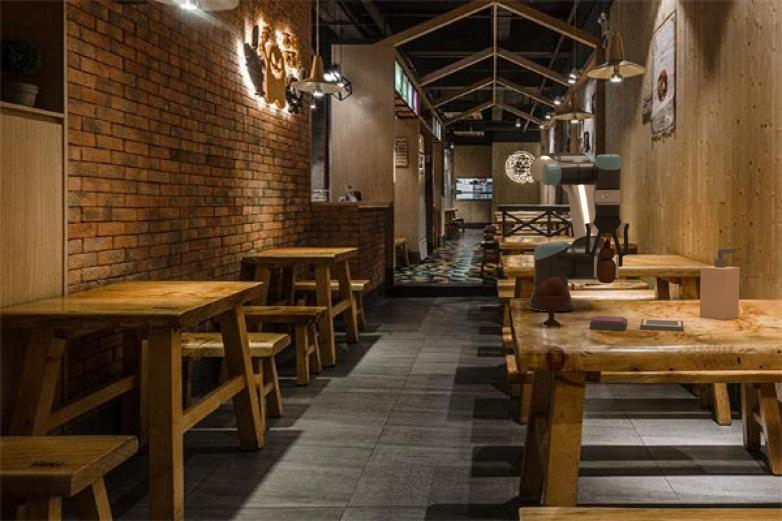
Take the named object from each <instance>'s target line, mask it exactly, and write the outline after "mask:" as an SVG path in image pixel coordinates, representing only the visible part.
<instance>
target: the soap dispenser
mask: <svg viewBox="0 0 782 521" xmlns="http://www.w3.org/2000/svg"><path fill="white" fill-rule="evenodd" d="M734 253H735V254H736V253H737V248H736V247H729V248H719V249H717V258H715V259H714V265H710V266H701V267H700V283H699V285H700V287H699V288H700V289H699V291H700V292H699V295H700V296H699V318H702V317H704V318H703V319H710V318H711V320H712V319H713V320H719V321H728V320H733V319H738V318H739V310H740V307H739V306H740V305H739V304H740V303H739V302H740V275H741V274H740V273H741V270H740V269H741V267H737V266H728V265H727V258H724V255H728V254H734Z"/></svg>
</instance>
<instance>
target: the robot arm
mask: <svg viewBox="0 0 782 521" xmlns="http://www.w3.org/2000/svg"><path fill="white" fill-rule="evenodd" d="M529 166H530V167H529V169H530V170H529V172H530V175H531V177H532V178H533V179H534V180H536V182H540V183H543V184H544V185H545V186H551V187H553V186H554V187H556V186H561V187H562V189H563V190H564V191H565V192H567V199H568V204H569V209H570V216H571V223H572V228H573V229H572V230H573V237H574V240H573V241H572V243H571V245H570V244H569V242H568V241H555V242H554V241H553V242H547V243H542V244H541V243H540V244H538V245H536V247H535V248H534V253H533V255H534V256H533V267H534V268H533V270H534V271H533V277H534V278H533V289H532V291H531V296H530V298H529V301H528V308H529V307H530V308H533V309H538V310H543V309H542V308H540V307H539V306H538V305H537V304H536V302H535V300H534V296H533V294H535V292H536V288H537V286H538V285H539V284H540V283H542V282H544V281H547V280H548V279H549V278H550V277H558V278H560V279H561V280H562V281H563V283H564V288H565V289H566V290H567V292H568V294H570V296H569V300H568V302H567V304H566V305H565V306H564V307H563V308H562V309H560V310H558V311H566V312H570V311H569V310H571V311H573V310H574V301H573V299H572V295H571V292H570V288H569V280H598V276H597V265H598V262H599V261H600V260H601V258H600V256H599V251H600V249H601V248H603V246H604V243H605V238H604V237H603V234H609V235H610V234H611V236H612V239H613V242H614V245H615V249H616V252H617V256H615V264H616V275H615V278H619V276H620V275H619V274H620V273H619V272H620V271H619V270H620V268H622V267H623V264H624V263H623V261H624V256H628V254H629V252H630V248H629V228H630V223H628V222H627V223H626V222H623V221H622V220H621V205H620V204H619V203H620V202H621V172H622V169H621V168H622V161H621V156H620V155H619V154H615V153H612V154H598V155H596V158H595V155H593V154H592V153H590V152H582V151H579V152H548V153H544V154H541V155H539V156H537V157H535V158H534V159H533V160H532V162H531V164H530V165H529ZM594 186H595V203H596V204H595V203H594V198H593V192H592V187H594ZM620 226H621V230H623V233H622V234H623V250H622V246H621V244H620V240H619V236H618V233H617V230H618V228H620ZM611 248H613V247H612V245H611ZM612 260H614V258H613V259H612Z"/></svg>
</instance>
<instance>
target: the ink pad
mask: <svg viewBox="0 0 782 521" xmlns="http://www.w3.org/2000/svg"><path fill="white" fill-rule="evenodd" d="M627 327H628V318H625V317H624V316H611V315H610V316H607V315H605V316H604V315H596V316H595V317H593V318H592V319H591V321H590V322H589V330H601V331H619V332H620V331H622V332H625V331H626V330H627Z"/></svg>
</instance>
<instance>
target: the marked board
mask: <svg viewBox="0 0 782 521" xmlns="http://www.w3.org/2000/svg"><path fill="white" fill-rule="evenodd" d="M639 329H640V330H648V331H667V332H668V331H669V332H671V331H672V332H684V331H685V330H684V320H675V319H674V320H673V319H653V318H651V319H649V318H648V319H647V318H642V319H641V322H640V326H639Z"/></svg>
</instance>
